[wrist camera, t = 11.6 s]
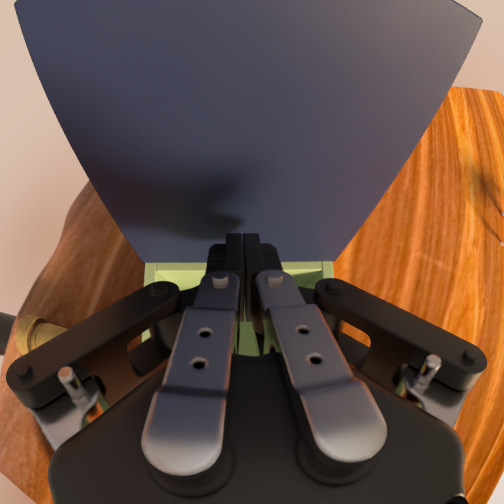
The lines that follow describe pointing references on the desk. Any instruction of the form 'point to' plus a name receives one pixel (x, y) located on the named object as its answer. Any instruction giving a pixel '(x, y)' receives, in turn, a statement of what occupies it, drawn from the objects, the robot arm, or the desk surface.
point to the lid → (244, 111)
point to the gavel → (34, 333)
